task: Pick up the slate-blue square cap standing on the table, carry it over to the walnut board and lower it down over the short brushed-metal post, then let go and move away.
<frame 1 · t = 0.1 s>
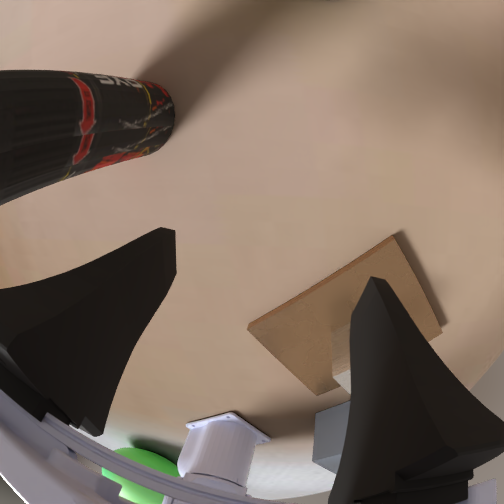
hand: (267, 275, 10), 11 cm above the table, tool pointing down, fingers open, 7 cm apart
post: (350, 328, 23), on the table
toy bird: (157, 456, 46), on the table
deodorant: (141, 118, 19), on the table
cap: (345, 415, 28), on the table
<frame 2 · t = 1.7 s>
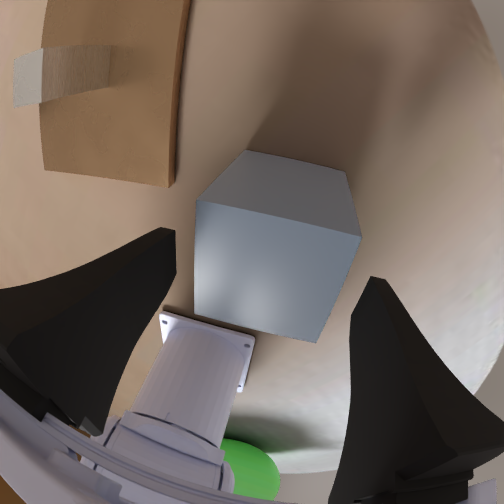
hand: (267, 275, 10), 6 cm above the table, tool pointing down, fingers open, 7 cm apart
post: (101, 67, 12), on the table
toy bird: (235, 442, 40), on the table
cap: (285, 204, 15), on the table
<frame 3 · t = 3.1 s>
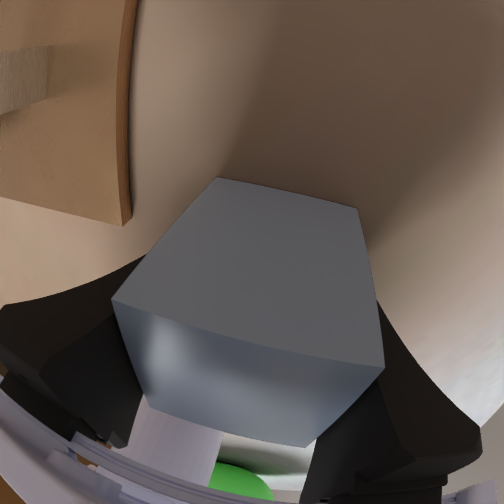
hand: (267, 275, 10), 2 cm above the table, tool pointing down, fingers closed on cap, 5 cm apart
post: (43, 73, 9), on the table
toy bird: (229, 464, 36), on the table
cap: (274, 250, 12), on the table, touching gripper
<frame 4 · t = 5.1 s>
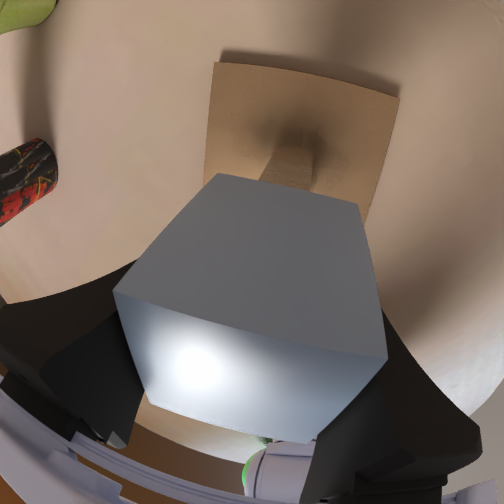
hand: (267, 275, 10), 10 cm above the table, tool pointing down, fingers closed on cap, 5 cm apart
post: (288, 178, 18), on the table
deodorant: (41, 165, 22), on the table
cap: (275, 246, 12), point 8 cm above the table, touching gripper
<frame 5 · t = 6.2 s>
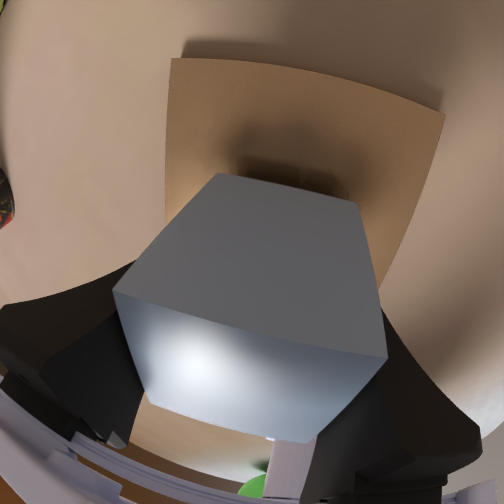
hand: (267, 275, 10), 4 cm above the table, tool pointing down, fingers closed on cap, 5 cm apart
post: (281, 223, 13), on the table
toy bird: (292, 472, 41), on the table
cap: (275, 245, 12), point 2 cm above the table, touching gripper
when the fingers open (4 cm above the table, at t = 7.0 s): cap drops 1 cm, resting on post.
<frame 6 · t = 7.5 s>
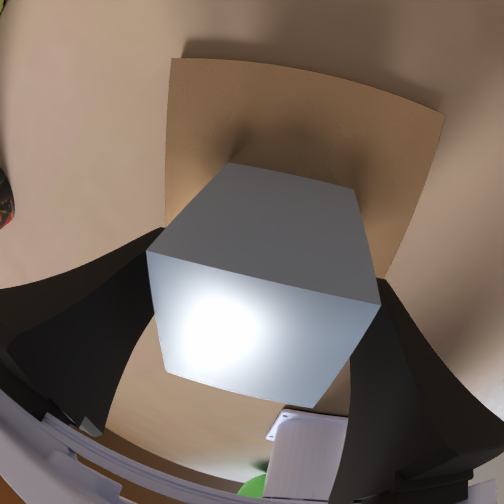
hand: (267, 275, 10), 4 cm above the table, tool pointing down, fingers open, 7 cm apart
post: (281, 223, 13), on the table
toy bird: (292, 472, 41), on the table
cap: (280, 229, 13), point 1 cm above the table, touching post
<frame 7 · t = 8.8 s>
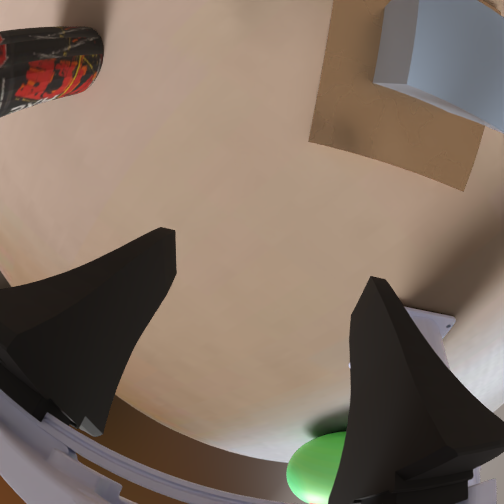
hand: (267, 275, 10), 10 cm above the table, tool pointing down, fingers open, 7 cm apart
post: (416, 61, 12), on the table
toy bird: (346, 434, 39), on the table
deodorant: (78, 60, 15), on the table
cap: (421, 58, 11), point 1 cm above the table, touching post
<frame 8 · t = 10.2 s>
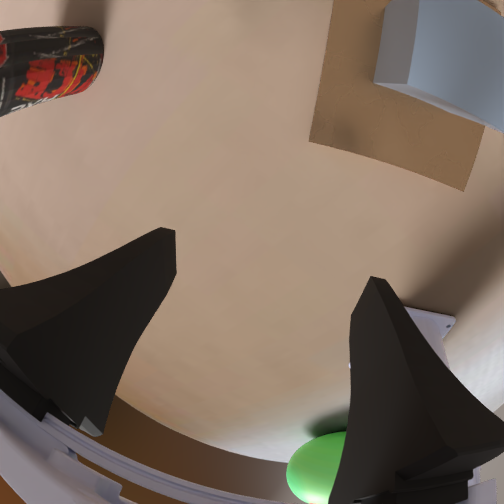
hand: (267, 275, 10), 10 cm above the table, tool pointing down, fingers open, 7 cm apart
post: (416, 61, 12), on the table
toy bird: (346, 434, 39), on the table
deodorant: (78, 59, 15), on the table
cap: (421, 58, 11), point 1 cm above the table, touching post
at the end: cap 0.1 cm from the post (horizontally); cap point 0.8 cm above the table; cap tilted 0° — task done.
